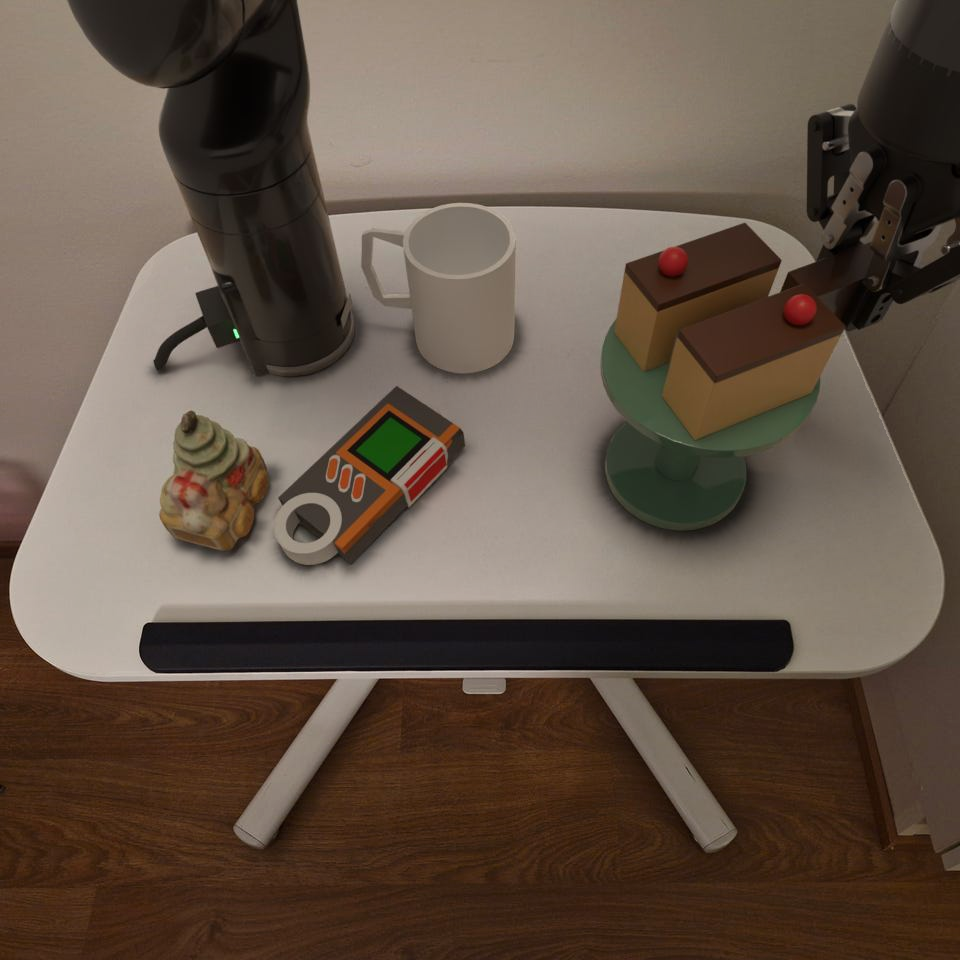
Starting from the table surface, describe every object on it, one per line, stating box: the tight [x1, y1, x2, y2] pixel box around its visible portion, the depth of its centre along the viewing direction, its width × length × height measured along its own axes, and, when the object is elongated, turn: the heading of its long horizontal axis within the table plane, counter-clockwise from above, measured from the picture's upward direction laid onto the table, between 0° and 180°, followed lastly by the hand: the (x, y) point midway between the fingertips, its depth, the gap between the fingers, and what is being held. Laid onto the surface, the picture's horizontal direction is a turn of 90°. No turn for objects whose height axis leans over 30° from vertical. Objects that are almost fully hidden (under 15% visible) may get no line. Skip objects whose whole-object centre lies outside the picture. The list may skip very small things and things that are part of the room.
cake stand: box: [599, 317, 822, 531], centre depth 52 cm, size 13×13×12 cm
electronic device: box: [273, 385, 466, 566], centre depth 56 cm, size 7×3×15 cm
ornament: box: [158, 410, 270, 552], centre depth 52 cm, size 8×6×10 cm
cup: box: [360, 202, 517, 374], centre depth 61 cm, size 8×12×10 cm
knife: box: [666, 240, 874, 374], centre depth 46 cm, size 15×2×4 cm, turn 114°
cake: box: [614, 222, 846, 440], centre depth 44 cm, size 8×9×7 cm
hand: (840, 307), depth 49 cm, fingers closed on knife, 2 cm apart
